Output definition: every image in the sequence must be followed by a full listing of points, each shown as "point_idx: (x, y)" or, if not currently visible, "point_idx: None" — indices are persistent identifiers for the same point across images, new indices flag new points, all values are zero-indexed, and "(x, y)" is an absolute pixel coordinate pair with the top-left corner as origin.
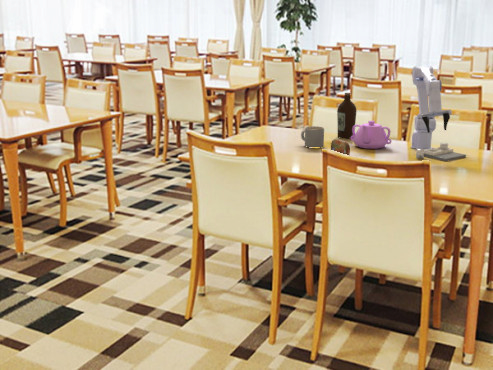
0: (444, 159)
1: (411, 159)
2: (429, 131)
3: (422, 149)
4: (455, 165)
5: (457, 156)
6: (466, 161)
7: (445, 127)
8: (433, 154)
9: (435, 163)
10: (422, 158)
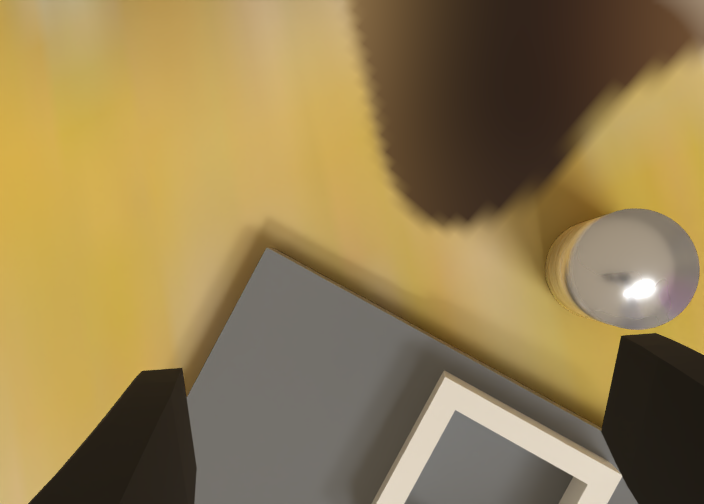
0: (281, 254)
1: (680, 161)
2: (614, 423)
3: (603, 272)
4: (135, 98)
5: None
6: (58, 356)
7: (124, 396)
8: (444, 371)
9: (355, 87)
10: (555, 241)
